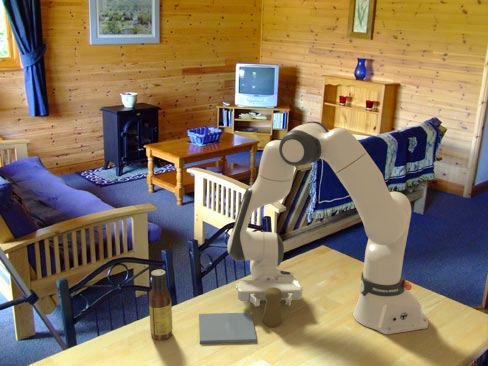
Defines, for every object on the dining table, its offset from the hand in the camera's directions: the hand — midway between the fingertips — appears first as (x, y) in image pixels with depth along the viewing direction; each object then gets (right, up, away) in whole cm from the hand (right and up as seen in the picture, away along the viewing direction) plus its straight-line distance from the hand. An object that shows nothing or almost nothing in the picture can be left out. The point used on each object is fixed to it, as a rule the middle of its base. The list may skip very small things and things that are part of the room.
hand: (272, 303), depth 160 cm
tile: (-14, -7, -3) cm, 16 cm away
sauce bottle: (-33, -8, -7) cm, 34 cm away
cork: (0, -6, +1) cm, 6 cm away
